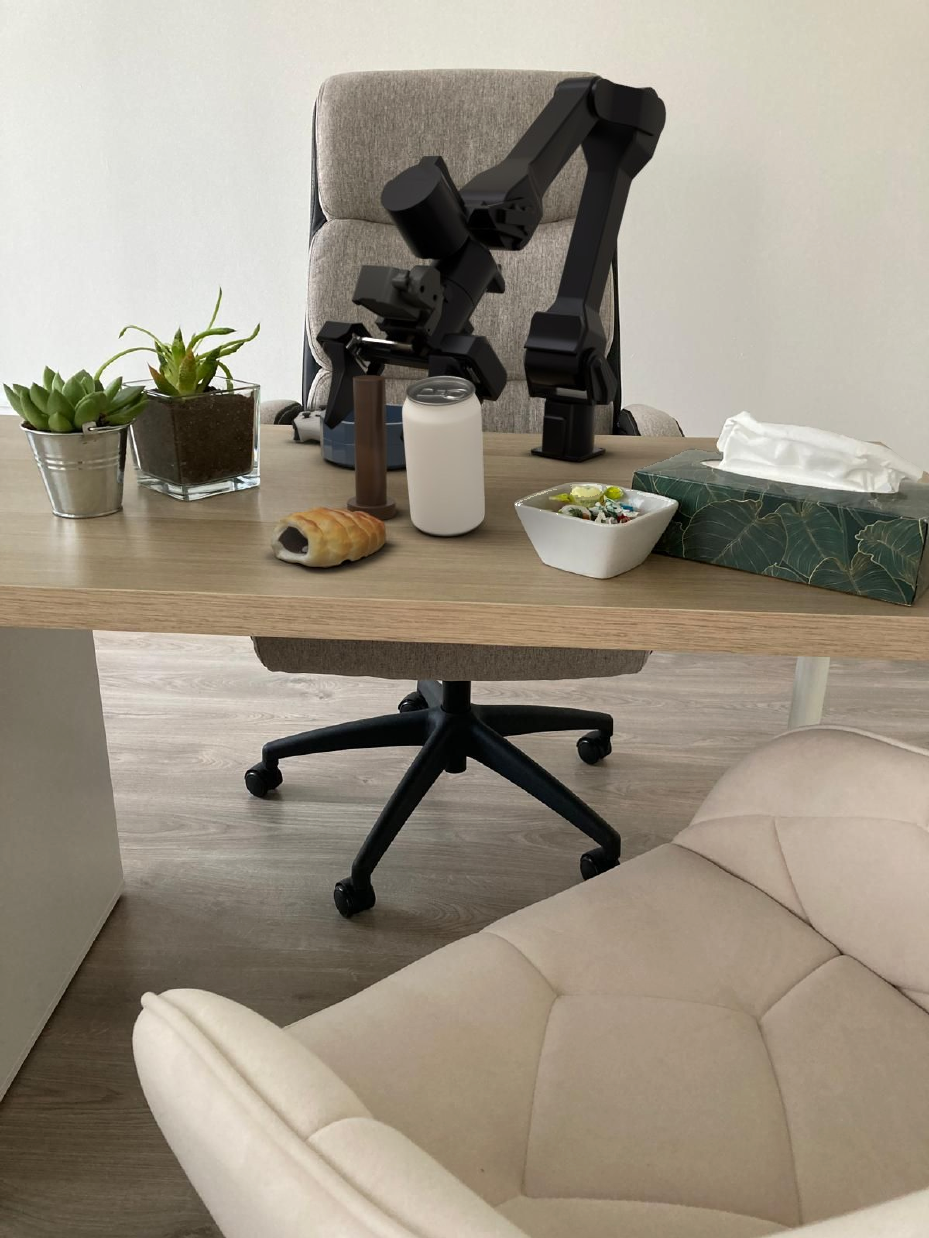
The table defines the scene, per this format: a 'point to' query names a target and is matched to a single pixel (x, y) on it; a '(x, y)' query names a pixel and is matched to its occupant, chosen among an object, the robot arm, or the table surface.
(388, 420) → the bowl
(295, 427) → the game controller
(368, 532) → the pastry
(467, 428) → the can
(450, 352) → the robot arm
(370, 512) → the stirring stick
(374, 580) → the table surface
